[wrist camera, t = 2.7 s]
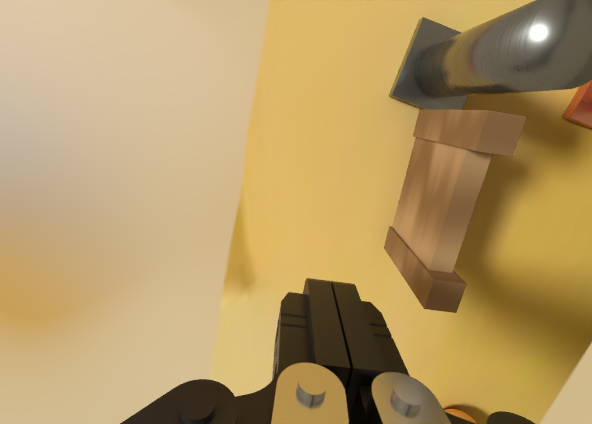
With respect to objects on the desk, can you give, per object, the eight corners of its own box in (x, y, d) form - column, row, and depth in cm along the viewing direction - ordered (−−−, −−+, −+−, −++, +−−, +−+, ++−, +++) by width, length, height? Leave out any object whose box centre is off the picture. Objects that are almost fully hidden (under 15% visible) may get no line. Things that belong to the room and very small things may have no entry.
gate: (419, 109, 19) (488, 109, 12) (445, 113, 19) (527, 116, 13) (383, 247, 22) (424, 309, 15) (406, 250, 22) (456, 312, 15)
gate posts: (431, -11, 18) (587, -142, 9) (644, 79, 20) (973, 52, 10) (388, 96, 20) (478, 85, 10) (588, 170, 21) (824, 219, 12)
